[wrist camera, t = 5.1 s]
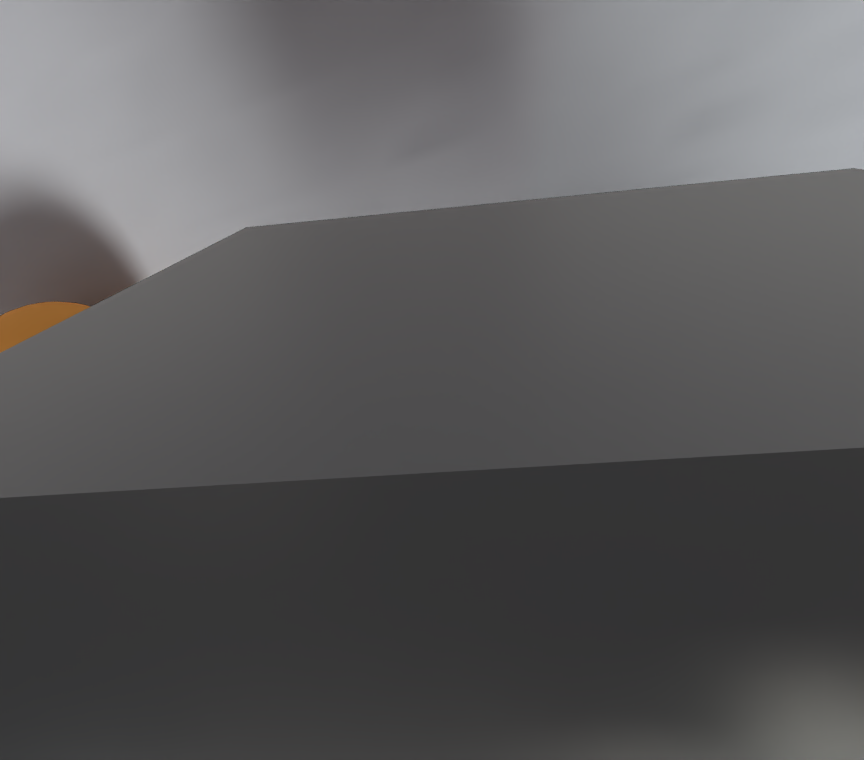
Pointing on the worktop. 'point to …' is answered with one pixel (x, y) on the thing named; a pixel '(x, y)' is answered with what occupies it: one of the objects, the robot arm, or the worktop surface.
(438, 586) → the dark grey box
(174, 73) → the worktop surface
